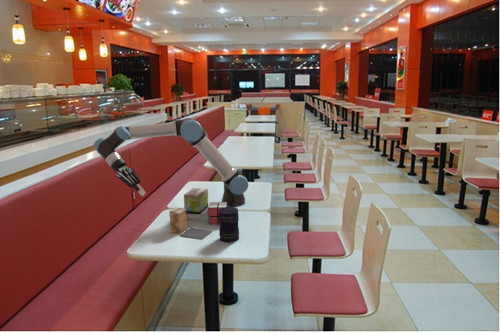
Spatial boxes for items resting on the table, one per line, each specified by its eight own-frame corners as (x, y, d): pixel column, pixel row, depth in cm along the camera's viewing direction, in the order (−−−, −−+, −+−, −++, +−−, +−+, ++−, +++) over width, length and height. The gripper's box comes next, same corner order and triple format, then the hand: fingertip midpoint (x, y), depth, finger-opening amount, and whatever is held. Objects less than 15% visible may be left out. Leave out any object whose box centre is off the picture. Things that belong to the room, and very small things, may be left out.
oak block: (170, 232, 207) (169, 210, 204) (177, 228, 212) (175, 207, 209) (180, 234, 204) (179, 212, 202) (186, 230, 210) (185, 208, 207)
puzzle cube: (227, 224, 216) (226, 207, 214) (209, 225, 216) (208, 207, 214) (228, 218, 226) (227, 201, 224) (210, 218, 226) (209, 202, 224)
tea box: (201, 220, 224) (199, 195, 220) (184, 219, 226) (182, 194, 222) (209, 211, 238) (207, 188, 235) (193, 210, 240) (191, 187, 237)
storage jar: (215, 239, 197) (214, 210, 194) (229, 233, 204) (228, 205, 201) (229, 244, 191) (228, 215, 187) (243, 238, 198) (242, 209, 195)
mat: (179, 236, 202) (179, 235, 202) (190, 228, 212) (190, 227, 212) (202, 239, 197) (202, 238, 197) (212, 231, 207) (212, 230, 207)
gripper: (120, 164, 222) (147, 195, 219) (104, 169, 210) (132, 202, 207) (127, 155, 218) (155, 187, 216) (111, 160, 207) (140, 193, 204)
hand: (144, 194), depth 212 cm, fingers closed
